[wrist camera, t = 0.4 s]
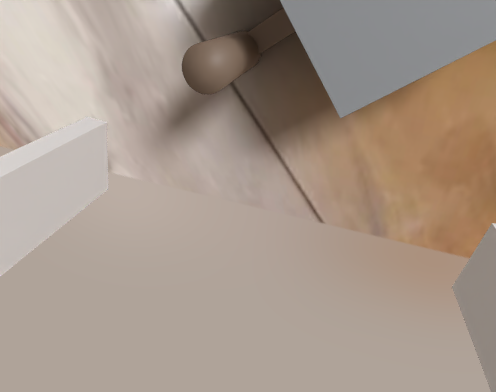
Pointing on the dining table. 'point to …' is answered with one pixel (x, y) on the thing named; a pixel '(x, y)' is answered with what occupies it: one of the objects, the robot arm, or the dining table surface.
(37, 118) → the dining table surface
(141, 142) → the dining table surface
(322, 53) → the grey step stool
